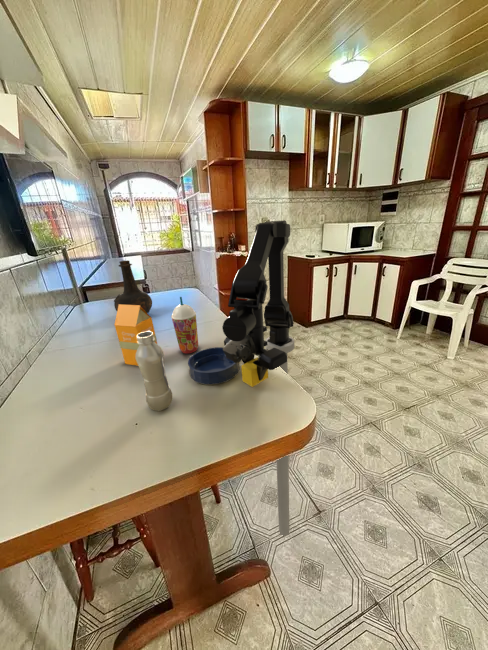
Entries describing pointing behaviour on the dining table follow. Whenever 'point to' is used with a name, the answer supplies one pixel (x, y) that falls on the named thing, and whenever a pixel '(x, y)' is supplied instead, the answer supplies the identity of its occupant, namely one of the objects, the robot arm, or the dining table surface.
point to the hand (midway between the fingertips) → (255, 376)
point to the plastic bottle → (153, 372)
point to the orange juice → (131, 329)
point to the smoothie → (185, 327)
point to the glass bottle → (131, 290)
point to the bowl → (212, 366)
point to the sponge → (251, 373)
